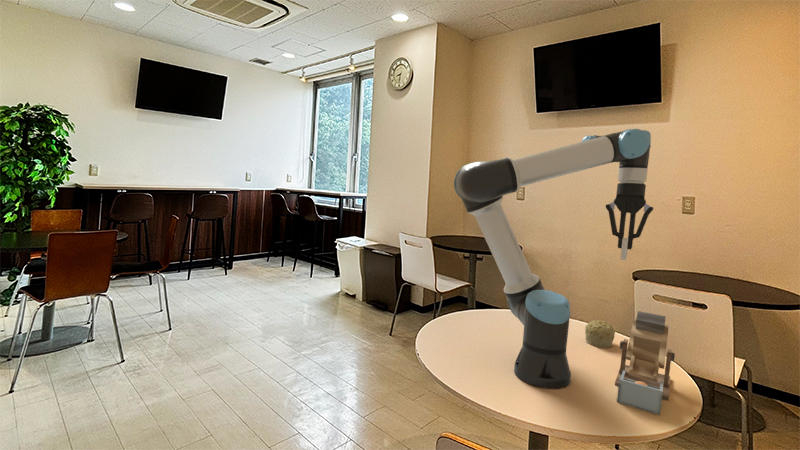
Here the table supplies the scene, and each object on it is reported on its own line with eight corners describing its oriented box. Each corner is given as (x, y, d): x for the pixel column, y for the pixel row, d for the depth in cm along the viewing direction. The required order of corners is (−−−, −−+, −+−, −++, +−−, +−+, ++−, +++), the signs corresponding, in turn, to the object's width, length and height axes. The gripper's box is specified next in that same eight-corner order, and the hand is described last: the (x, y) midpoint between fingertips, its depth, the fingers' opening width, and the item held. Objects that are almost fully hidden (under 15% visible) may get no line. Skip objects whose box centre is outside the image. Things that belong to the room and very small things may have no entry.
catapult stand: (620, 365, 123) (623, 332, 122) (670, 379, 116) (675, 344, 114) (613, 384, 111) (617, 348, 109) (670, 401, 103) (674, 362, 102)
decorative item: (605, 359, 137) (626, 338, 135) (582, 339, 137) (603, 318, 136) (597, 348, 146) (617, 329, 144) (575, 330, 147) (595, 310, 145)
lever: (633, 321, 124) (635, 297, 120) (668, 328, 119) (671, 303, 115) (622, 373, 108) (624, 348, 104) (662, 384, 103) (665, 358, 99)
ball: (647, 380, 105) (645, 395, 105) (630, 377, 106) (628, 392, 106) (652, 386, 101) (651, 402, 101) (635, 383, 102) (633, 398, 102)
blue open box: (621, 387, 109) (623, 366, 108) (661, 399, 104) (663, 377, 103) (616, 401, 102) (619, 379, 101) (659, 415, 96) (662, 391, 96)
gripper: (657, 183, 121) (648, 260, 123) (609, 182, 128) (602, 254, 131) (656, 183, 115) (647, 264, 117) (605, 181, 122) (598, 257, 124)
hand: (623, 259), depth 124 cm, fingers closed
